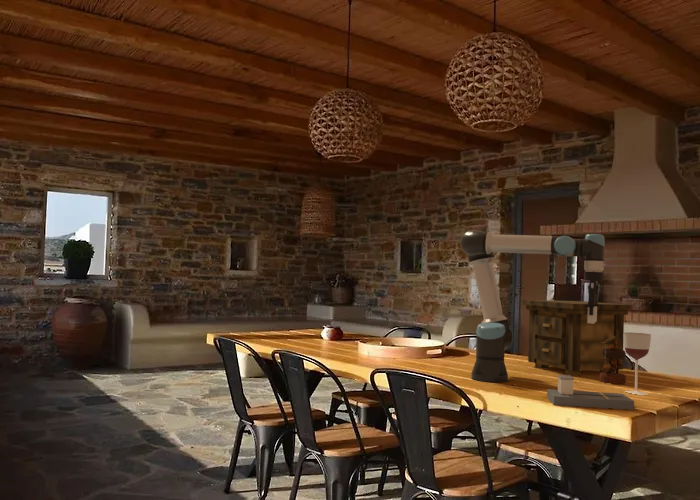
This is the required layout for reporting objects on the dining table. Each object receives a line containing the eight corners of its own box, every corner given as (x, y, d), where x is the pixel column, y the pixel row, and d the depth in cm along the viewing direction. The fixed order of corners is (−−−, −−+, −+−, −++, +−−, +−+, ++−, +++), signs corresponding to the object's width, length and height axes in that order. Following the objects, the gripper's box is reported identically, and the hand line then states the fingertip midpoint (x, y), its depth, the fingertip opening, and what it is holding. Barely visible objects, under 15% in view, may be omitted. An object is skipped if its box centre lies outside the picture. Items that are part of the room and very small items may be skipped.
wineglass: (617, 390, 249) (618, 332, 250) (641, 391, 250) (642, 332, 251) (629, 394, 240) (631, 334, 241) (654, 395, 241) (656, 335, 241)
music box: (618, 385, 260) (615, 337, 262) (593, 383, 269) (590, 336, 271) (635, 382, 270) (631, 335, 272) (610, 380, 279) (607, 335, 281)
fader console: (553, 405, 215) (553, 395, 215) (547, 397, 228) (547, 388, 228) (634, 410, 211) (634, 400, 211) (622, 402, 225) (622, 393, 225)
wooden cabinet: (630, 375, 292) (631, 304, 294) (571, 377, 279) (573, 303, 280) (576, 364, 325) (577, 301, 326) (521, 365, 311) (522, 299, 312)
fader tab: (560, 394, 218) (560, 377, 218) (557, 390, 224) (557, 374, 225) (573, 394, 217) (573, 378, 218) (569, 391, 224) (570, 375, 224)
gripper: (601, 271, 249) (600, 324, 248) (605, 272, 271) (603, 321, 270) (581, 270, 252) (579, 323, 251) (586, 271, 274) (584, 320, 274)
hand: (592, 322), depth 261 cm, fingers open, 13 cm apart
